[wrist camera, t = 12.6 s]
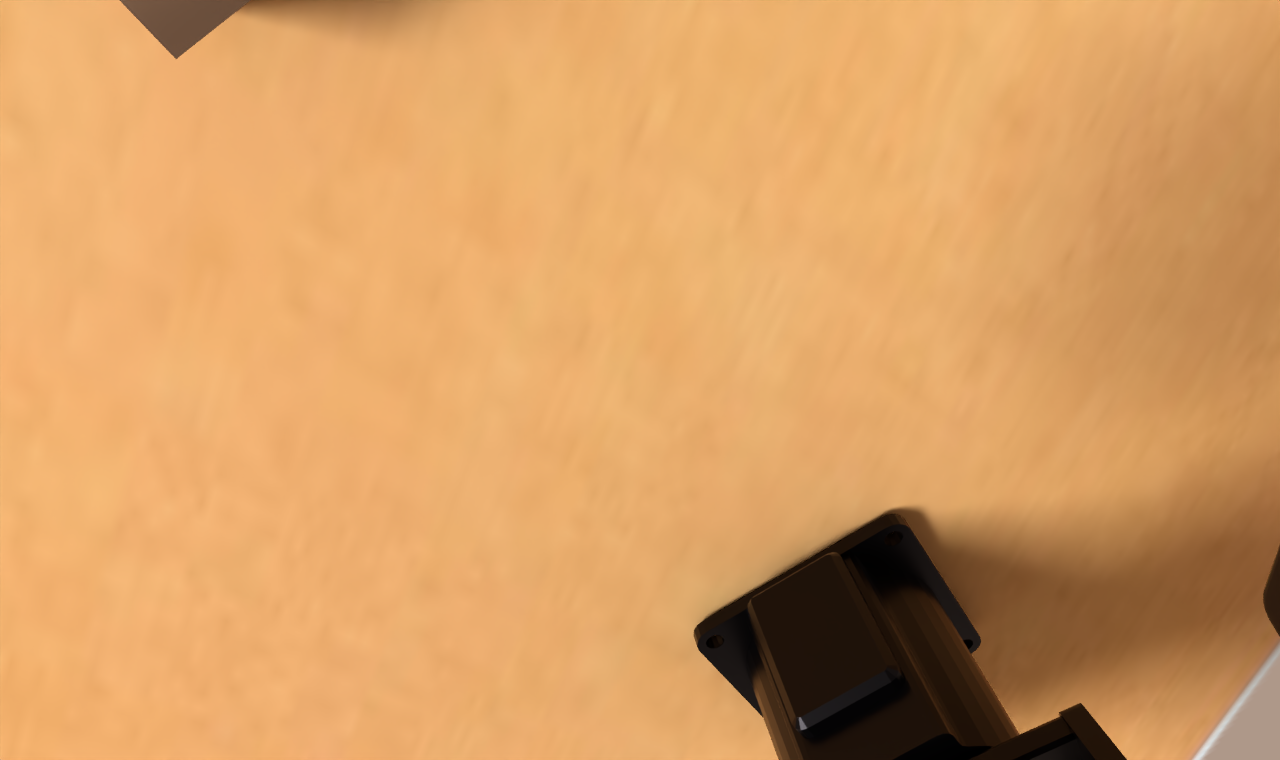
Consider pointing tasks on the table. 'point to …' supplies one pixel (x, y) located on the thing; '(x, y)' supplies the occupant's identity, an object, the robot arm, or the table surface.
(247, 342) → the table surface
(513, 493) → the table surface
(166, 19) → the walnut block
